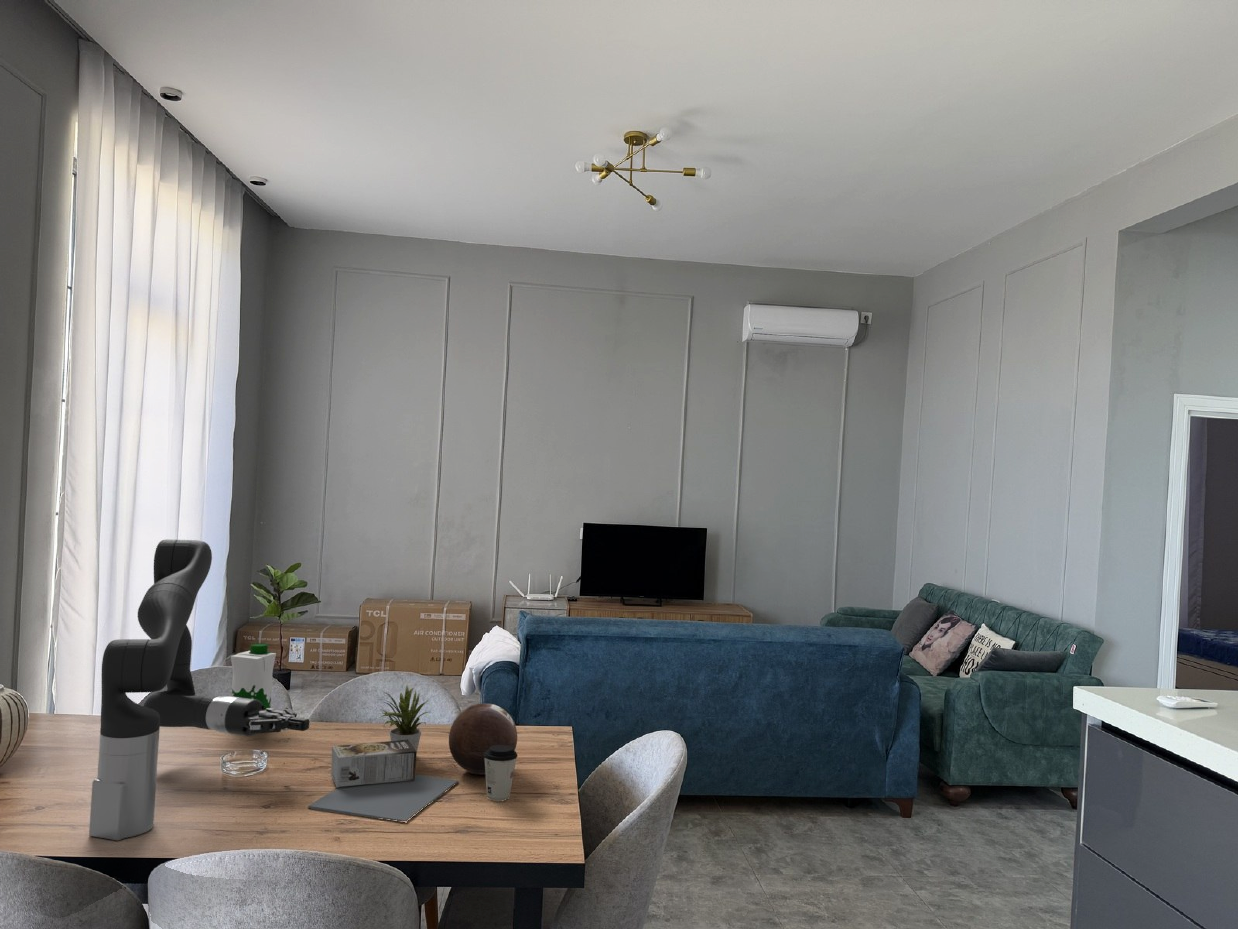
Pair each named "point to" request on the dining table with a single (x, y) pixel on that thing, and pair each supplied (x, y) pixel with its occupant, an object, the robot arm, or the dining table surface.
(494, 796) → the coffee cup
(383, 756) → the coffee box
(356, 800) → the rubber mat
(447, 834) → the dining table surface
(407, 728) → the house plant
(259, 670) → the milk carton
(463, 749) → the wooden sphere
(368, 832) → the dining table surface
